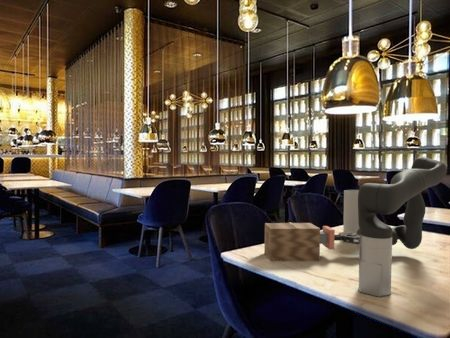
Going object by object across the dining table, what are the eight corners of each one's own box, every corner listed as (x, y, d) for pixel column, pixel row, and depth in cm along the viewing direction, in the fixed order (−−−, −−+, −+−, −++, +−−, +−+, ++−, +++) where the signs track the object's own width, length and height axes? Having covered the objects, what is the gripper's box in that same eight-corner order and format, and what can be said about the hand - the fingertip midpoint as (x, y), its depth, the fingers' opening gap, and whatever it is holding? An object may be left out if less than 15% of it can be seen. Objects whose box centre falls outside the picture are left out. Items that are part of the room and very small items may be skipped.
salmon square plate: (327, 244, 149) (327, 226, 148) (334, 249, 141) (334, 229, 140) (281, 245, 147) (281, 226, 147) (285, 250, 139) (286, 230, 139)
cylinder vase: (348, 237, 181) (349, 189, 181) (373, 240, 173) (374, 191, 173) (339, 241, 172) (340, 191, 171) (365, 245, 164) (366, 192, 163)
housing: (309, 252, 150) (310, 222, 150) (319, 260, 138) (320, 227, 138) (264, 253, 149) (264, 222, 148) (270, 261, 137) (270, 228, 136)
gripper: (363, 225, 152) (325, 225, 151) (379, 231, 139) (337, 231, 138) (363, 242, 152) (324, 242, 151) (378, 250, 139) (336, 250, 138)
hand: (330, 237), depth 144 cm, fingers closed
